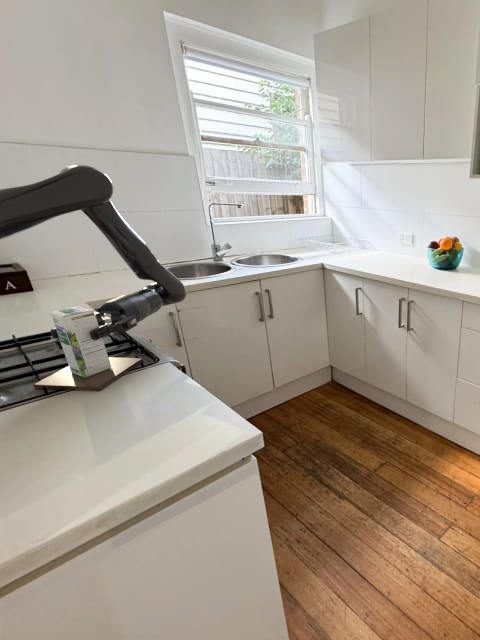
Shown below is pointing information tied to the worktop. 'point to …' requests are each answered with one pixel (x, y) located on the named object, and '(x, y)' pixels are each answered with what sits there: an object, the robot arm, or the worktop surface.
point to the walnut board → (93, 382)
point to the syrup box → (80, 341)
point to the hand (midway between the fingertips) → (72, 335)
